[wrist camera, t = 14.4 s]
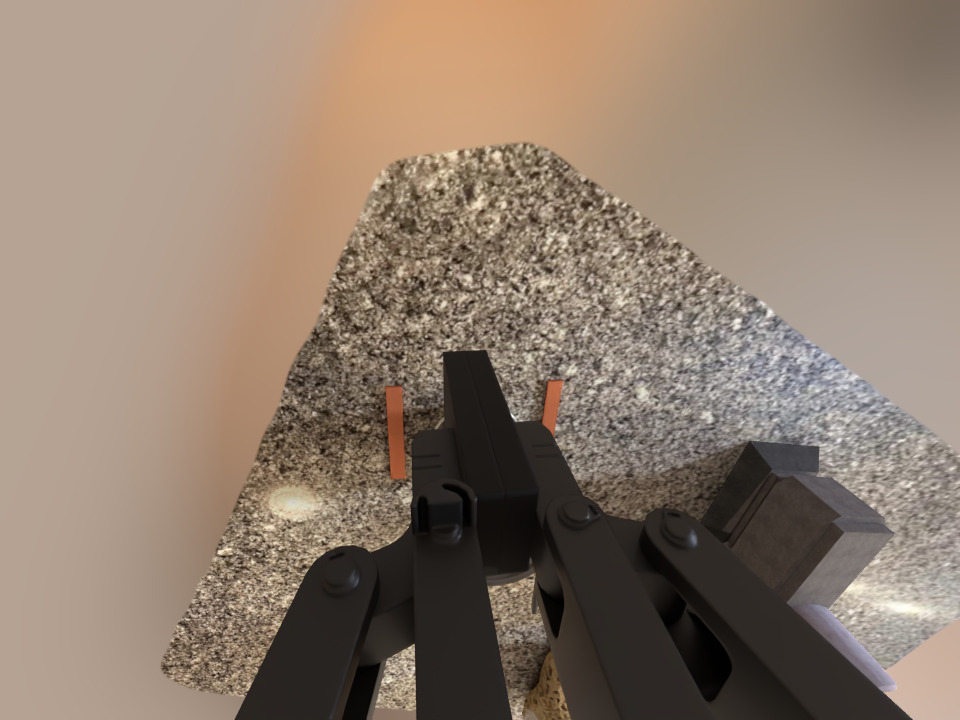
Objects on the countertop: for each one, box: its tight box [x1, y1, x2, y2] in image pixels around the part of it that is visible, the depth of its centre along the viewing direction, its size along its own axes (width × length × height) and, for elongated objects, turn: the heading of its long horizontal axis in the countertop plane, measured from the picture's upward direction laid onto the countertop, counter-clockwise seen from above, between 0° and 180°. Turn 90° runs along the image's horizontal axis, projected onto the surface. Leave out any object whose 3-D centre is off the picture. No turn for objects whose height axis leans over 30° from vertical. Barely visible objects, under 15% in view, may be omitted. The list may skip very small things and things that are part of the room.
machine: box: [701, 441, 897, 692], centre depth 50 cm, size 30×16×24 cm, turn 168°
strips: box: [386, 380, 563, 479], centre depth 45 cm, size 12×19×1 cm, turn 87°
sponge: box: [522, 651, 571, 720], centre depth 68 cm, size 13×8×20 cm
